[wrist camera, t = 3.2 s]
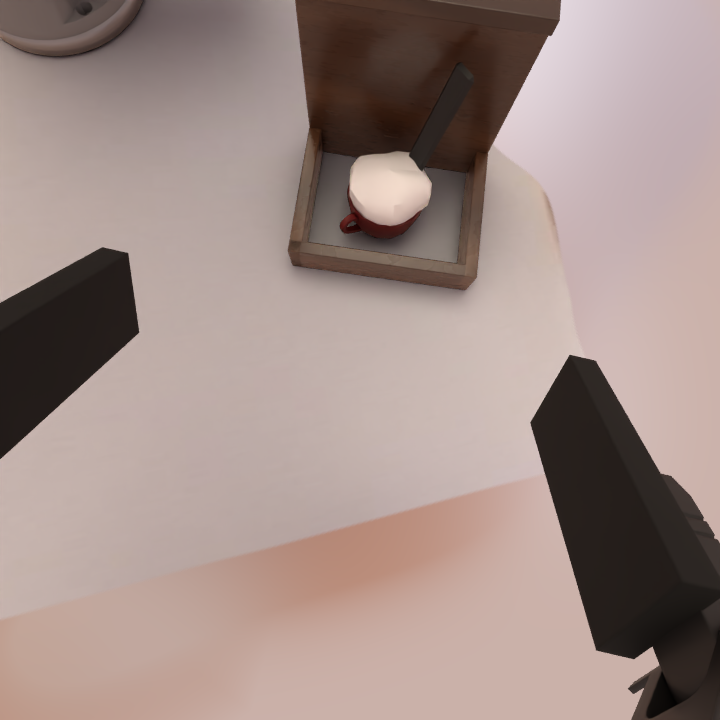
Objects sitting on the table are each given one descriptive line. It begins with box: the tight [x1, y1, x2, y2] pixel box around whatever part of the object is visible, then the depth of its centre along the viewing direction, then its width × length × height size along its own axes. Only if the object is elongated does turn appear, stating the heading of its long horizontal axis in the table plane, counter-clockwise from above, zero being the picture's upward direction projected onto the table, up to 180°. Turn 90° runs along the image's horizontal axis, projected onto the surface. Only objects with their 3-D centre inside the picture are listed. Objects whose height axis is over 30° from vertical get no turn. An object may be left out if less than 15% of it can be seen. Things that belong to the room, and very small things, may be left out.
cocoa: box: [340, 62, 474, 239], centre depth 31 cm, size 10×6×12 cm, turn 105°
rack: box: [288, 0, 561, 290], centre depth 30 cm, size 13×15×15 cm
